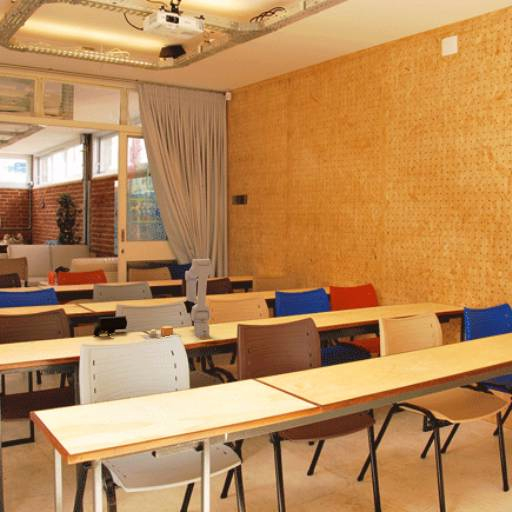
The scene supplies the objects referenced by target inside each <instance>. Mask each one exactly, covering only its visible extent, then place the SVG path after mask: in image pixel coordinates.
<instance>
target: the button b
mask: <svg viewBox="0 0 512 512" xmlns="http://www.w3.org/2000/svg"><path fill="white" fill-rule="evenodd" d="M149 333H151V334H156V333H157V330H156V329H150V332H149Z"/></svg>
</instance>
